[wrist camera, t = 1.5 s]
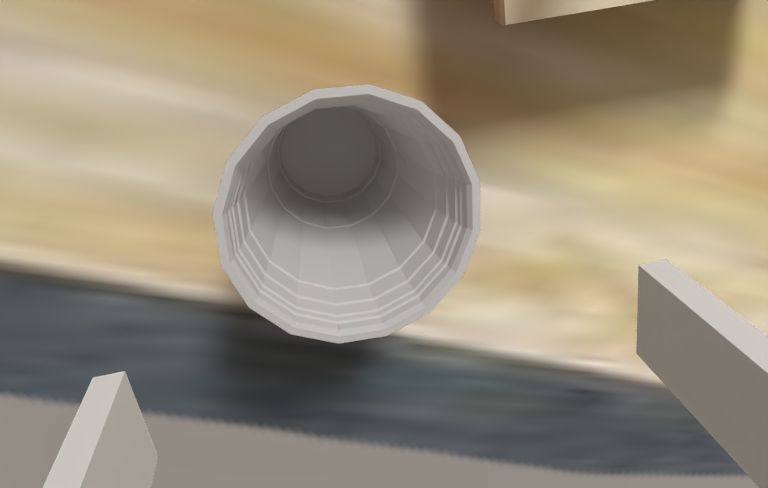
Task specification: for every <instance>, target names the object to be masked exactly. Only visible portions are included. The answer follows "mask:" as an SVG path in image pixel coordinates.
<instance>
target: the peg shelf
mask: <svg viewBox="0 0 768 488" xmlns="http://www.w3.org/2000/svg"><path fill="white" fill-rule="evenodd" d="M647 1H653V0H494V15H495V22H496V23H500V24H504V25H509V24H515V23H521V22H527V21H533V20H539V19H545V18H551V17H557V16H563V15H569V14H575V13H581V12H587V11H593V10H599V9H605V8H611V7H617V6H623V5H629V4H635V3H641V2H647Z"/></svg>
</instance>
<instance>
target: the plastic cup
mask: <svg viewBox="0 0 768 488" xmlns="http://www.w3.org/2000/svg"><path fill="white" fill-rule="evenodd" d="M212 216H213V222H214V228H215V234H216V240H217V246H218V252H219V257H220V263H221V267H222V268H223V270H224V271H225V273H226V274H227V276H228V277H229V279H230V280H231V282H232V283H233V285H234V286H235V288H236V289H237V290H238V292H239V293H240V295H241V296H242V298H243V299H244V301H245V302H246V304H247V305H248V307H249V308H250V309H252V310H254V311H255V312H257V313H258V314H260V315H261V316H263V317H264V318H266V319H268V320H269V321H271V322H272V323H274V324H275V325H277V326H278V327H280V328H282V329H283V330H285V331H286V332H288V333H289V334H292V335H297V336H302V337H307V338H312V339H318V340H323V341H328V342H333V343H338V344H340V343H346V342H352V341H358V340H364V339H370V338H376V337H383V336H388V335H390V334H391V333H393V332H395V331H397V330H399V329H400V328H402V327H404V326H406V325H408V324H410V323H411V322H413V321H415V320H417V319H419V318H421V317H422V316H424V315H426V314H428V313H430V312H431V311H432V310H433V309H434V307H435V306H436V305H437V304H438V303H439V302H440V301H441V300H442V298H443V297H444V296H445V295H446V294H447V293H448V292H449V291H450V289H451V288H452V287H453V286H454V285H455V284H456V283H457V282H458V280H459V279H460V278H461V277H462V276H463V274H464V271H465V269H466V266H467V264H468V261H469V258H470V256H471V253H472V251H473V248H474V246H475V243H476V241H477V238H478V235H479V233H480V180H479V178H478V176H477V174H476V171H475V169H474V167H473V164H472V162H471V160H470V157H469V155H468V153H467V151H466V148H465V146H464V144H463V141H462V139H461V137H460V136H459V135H458V134H457V133H456V132H455V131H454V130H453V129H452V128H451V127H450V126H448V125H447V124H446V123H445V122H444V121H443V120H442V119H441V118H440V117H439V116H437V115H436V114H435V113H434V112H433V111H432V110H431V109H430V108H429V107H428V106H426V105H425V104H424V103H423V102H422V101H419V100H416V99H413V98H410V97H407V96H404V95H401V94H398V93H395V92H392V91H389V90H386V89H383V88H380V87H377V86H374V85H371V84H367V85H356V86H345V87H334V88H323V89H313V90H311V91H309V92H307V93H305V94H304V95H302V96H300V97H298V98H296V99H294V100H292V101H291V102H289V103H287V104H285V105H283V106H281V107H279V108H278V109H276V110H274V111H272V112H270V113H268V114H266V115H265V116H263V117H261V119H260V120H259V121H258V122H257V124H256V125H255V126H254V127H253V129H252V130H251V131H250V132H249V134H248V135H247V136H246V137H245V139H244V140H243V141H242V142H241V144H240V145H239V146H238V147H237V149H236V150H235V151H234V153H233V154H232V155H231V156H230V158H229V159H228V160H227V161H226V164H225V168H224V172H223V176H222V179H221V183H220V187H219V191H218V195H217V198H216V202H215V206H214V210H213V214H212Z"/></svg>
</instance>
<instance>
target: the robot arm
mask: <svg viewBox="0 0 768 488" xmlns="http://www.w3.org/2000/svg"><path fill="white" fill-rule="evenodd" d="M637 354H638V356H639V357H640V358H641V359H642V360H643V361H644V362H645V363H646V364H647V365H648V366H649V368H650V369H651V370H652V371H653V372H654V373H655V374H656V375H657V376H658V377H659V378H660V380H661V381H662V382H663V383H664V384H665V385H666V386H667V387H668V388H669V389H670V390H671V392H672V393H673V394H674V395H675V396H676V397H677V398H678V399H679V400H680V401H681V403H682V404H683V405H684V406H685V407H686V408H687V409H688V410H689V411H690V412H691V413H692V415H693V416H694V417H695V418H696V419H697V420H698V421H699V422H700V423H701V424H702V425H703V427H704V428H705V429H706V430H707V431H708V432H709V433H710V434H711V435H712V436H713V437H714V439H715V440H716V441H717V442H718V443H719V444H720V445H721V446H722V447H723V448H724V449H725V451H726V452H727V453H728V454H729V455H730V456H731V457H732V458H733V459H734V460H735V461H736V463H737V464H738V465H739V466H740V467H741V468H742V469H743V470H744V471H745V472H746V473H747V475H748V476H749V477H750V478H751V479H752V480H753V481H754V482H755V483H756V484H757V486H759V488H768V336H767V335H765V334H764V333H763V332H762V331H760V330H759V329H758V328H756V327H755V326H754V325H752V324H751V323H750V322H748V321H747V320H746V319H744V318H743V317H742V316H741V315H739V314H738V313H737V312H735V311H734V310H733V309H731V308H730V307H729V306H727V305H726V304H725V303H723V302H722V301H721V300H720V299H718V298H717V297H716V296H714V295H713V294H712V293H710V292H709V291H708V290H706V289H705V288H704V287H702V286H701V285H700V284H699V283H697V282H696V281H695V280H693V279H692V278H691V277H689V276H688V275H687V274H685V273H684V272H683V271H682V270H680V269H679V268H678V267H676V266H675V265H674V264H672V263H671V262H670V261H668V260H667V259H666V260H661V261H656V262H651V263H646V264H642V265H639V274H638V313H637ZM157 461H158V455H157V452H156V450H155V447H154V445H153V442H152V439H151V437H150V434H149V432H148V429H147V427H146V424H145V421H144V419H143V416H142V414H141V411H140V408H139V406H138V403H137V401H136V398H135V396H134V393H133V390H132V388H131V385H130V383H129V380H128V378H127V375H126V372H125V371H123V372H118V373H113V374H108V375H103V376H99V377H94V378H93V379H92V381H91V383H90V385H89V387H88V390H87V392H86V394H85V396H84V398H83V401H82V403H81V405H80V407H79V409H78V412H77V414H76V416H75V418H74V420H73V423H72V425H71V427H70V429H69V431H68V433H67V436H66V438H65V440H64V442H63V445H62V447H61V449H60V451H59V453H58V455H57V458H56V460H55V462H54V464H53V466H52V469H51V471H50V473H49V475H48V477H47V480H46V482H45V484H44V486H43V488H151V485H152V481H153V477H154V473H155V469H156V465H157Z"/></svg>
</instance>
